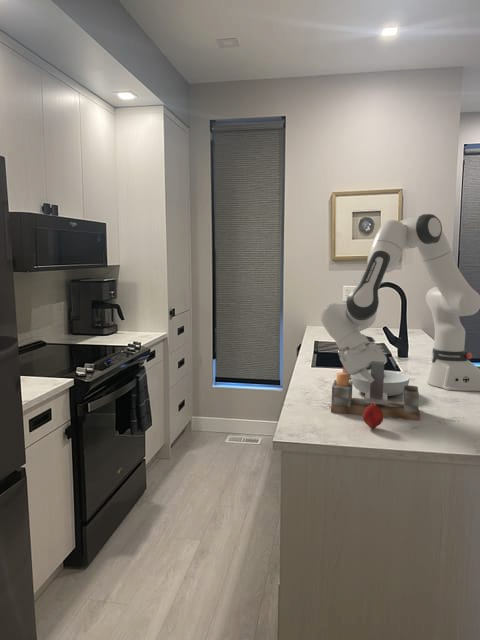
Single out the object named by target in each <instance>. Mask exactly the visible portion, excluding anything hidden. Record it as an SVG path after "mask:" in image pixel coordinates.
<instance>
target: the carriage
mask: <svg viewBox="0 0 480 640" xmlns="http://www.w3.org/2000/svg"><path fill="white" fill-rule="evenodd" d="M384 371H385V364H384V362H378V361H371V376H372V375H373V376H374V378H375V379H376V380H375V381H374V382H372V383H370V392H365V393H364V399H365V403H373V402H375V404H384V405H387V403H388V401H389V400H388V397H387V394H386V393H383V381H384Z"/></svg>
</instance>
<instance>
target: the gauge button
mask: <svg viewBox="0 0 480 640" xmlns="http://www.w3.org/2000/svg"><path fill="white" fill-rule="evenodd" d="M336 380H337V383H336V386H349V381H350V379H349V374H348V373H343V371H342V372H337V373H336Z"/></svg>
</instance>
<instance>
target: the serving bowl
mask: <svg viewBox="0 0 480 640" xmlns="http://www.w3.org/2000/svg"><path fill="white" fill-rule="evenodd" d="M367 372H368V373H369V374H370V375H371V370H368V371H367ZM384 373H385V374H386V378H384V381H383V393H386V394H387V398H388V397H392V396H398V395H400V394H403V391H404V385H407V386H409V384H410V377H409V376H408V375H406V374H403V373H400V372H395V371H391V370H390V371H388V370H384ZM350 381H353V384H352V386H353V387H354V388H355V389H356V390H358V391H359V392H361V393H363V394H365V392H370V383H369V381H368V380H367V379H366V378H364V377H363V376H362V375H361V374H360V373H358V374H354V375H351V379H350Z"/></svg>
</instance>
